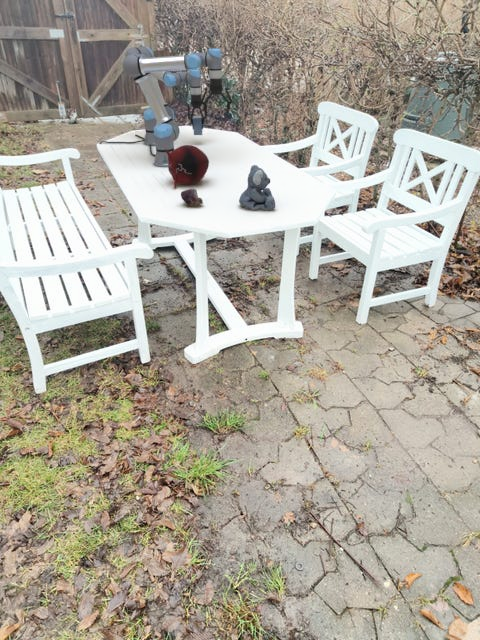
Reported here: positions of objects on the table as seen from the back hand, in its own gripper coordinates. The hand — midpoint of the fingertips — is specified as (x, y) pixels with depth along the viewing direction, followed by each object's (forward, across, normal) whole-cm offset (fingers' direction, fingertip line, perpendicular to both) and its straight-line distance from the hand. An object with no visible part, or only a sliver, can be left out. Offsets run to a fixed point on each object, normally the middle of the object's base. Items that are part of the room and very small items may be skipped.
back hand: (197, 128), depth 330 cm
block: (+3, 0, 0) cm, 3 cm away
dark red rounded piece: (+11, +4, +89) cm, 90 cm away
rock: (+11, +1, +128) cm, 128 cm away
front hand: (-16, -14, +42) cm, 47 cm away
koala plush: (+11, -32, +132) cm, 136 cm away
